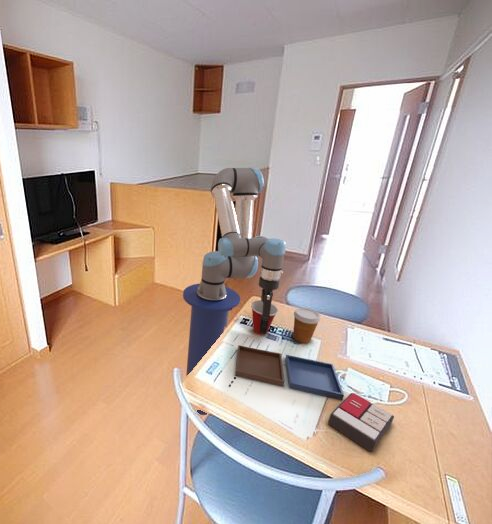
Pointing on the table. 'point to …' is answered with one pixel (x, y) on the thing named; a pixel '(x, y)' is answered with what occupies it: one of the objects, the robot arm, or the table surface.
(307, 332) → the disposable coffee cup
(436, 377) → the table surface
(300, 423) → the table surface
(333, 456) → the table surface
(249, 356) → the paper tray
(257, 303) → the plastic cup
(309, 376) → the plastic tray
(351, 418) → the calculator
